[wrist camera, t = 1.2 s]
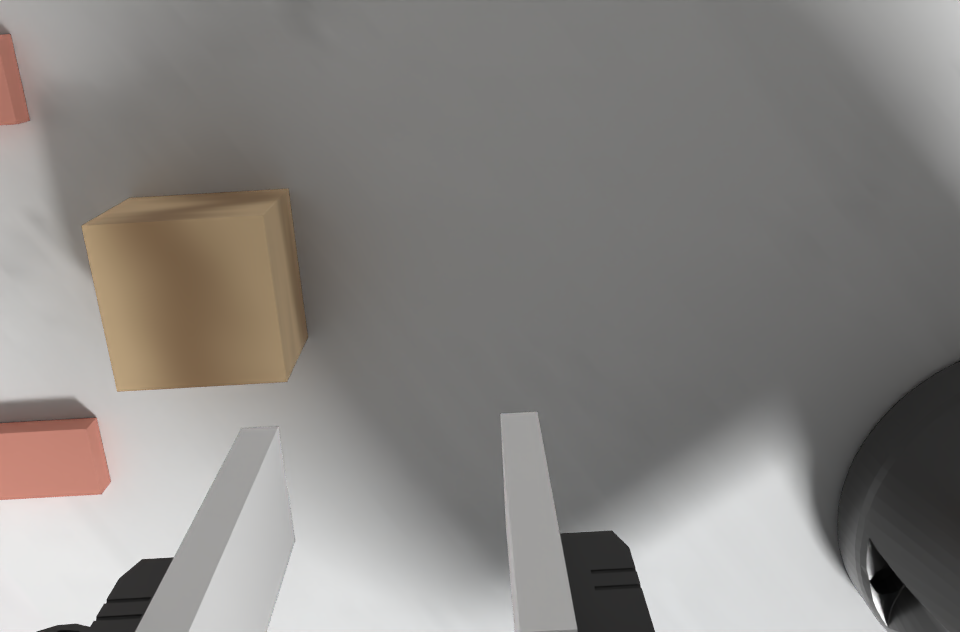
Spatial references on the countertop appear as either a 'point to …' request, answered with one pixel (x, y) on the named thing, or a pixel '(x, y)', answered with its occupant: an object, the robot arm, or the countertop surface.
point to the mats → (52, 443)
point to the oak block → (198, 289)
